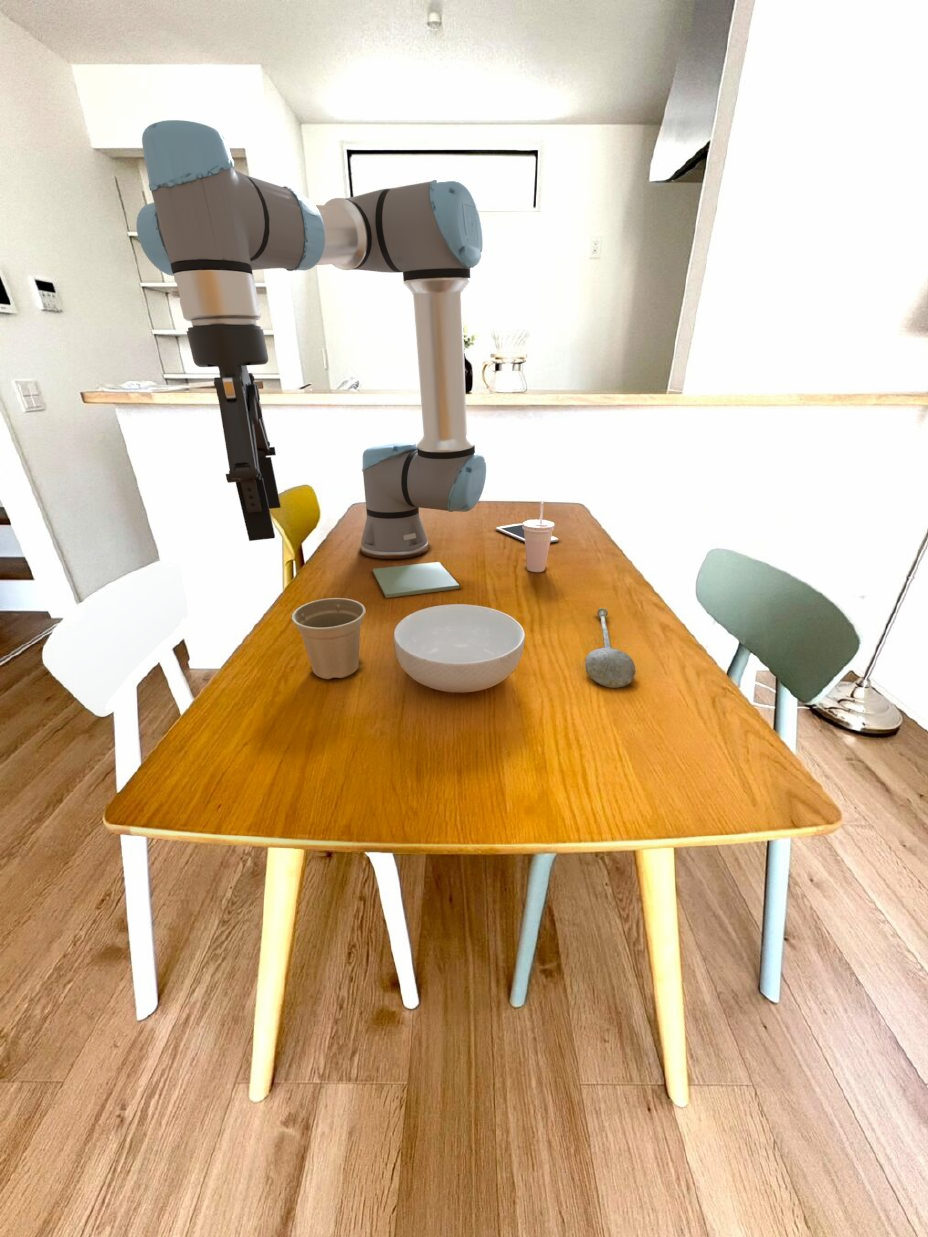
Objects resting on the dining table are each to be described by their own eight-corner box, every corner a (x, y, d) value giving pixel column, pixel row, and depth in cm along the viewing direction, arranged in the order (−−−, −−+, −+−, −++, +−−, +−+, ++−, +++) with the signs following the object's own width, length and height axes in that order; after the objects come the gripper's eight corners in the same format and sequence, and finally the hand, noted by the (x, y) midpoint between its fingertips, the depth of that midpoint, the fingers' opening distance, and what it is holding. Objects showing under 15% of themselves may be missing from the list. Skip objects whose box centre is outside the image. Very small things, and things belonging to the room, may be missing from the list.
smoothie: (537, 576, 104) (541, 507, 98) (513, 568, 109) (516, 501, 102) (557, 569, 108) (563, 502, 102) (534, 561, 112) (538, 496, 106)
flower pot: (354, 690, 67) (348, 631, 63) (287, 683, 69) (277, 624, 65) (379, 655, 75) (375, 600, 72) (319, 649, 77) (312, 595, 73)
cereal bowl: (420, 726, 60) (418, 674, 57) (381, 660, 74) (378, 615, 71) (546, 693, 67) (550, 645, 64) (489, 638, 80) (490, 596, 77)
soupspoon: (583, 689, 69) (634, 696, 68) (587, 667, 67) (639, 675, 66) (582, 614, 88) (622, 619, 87) (585, 596, 86) (626, 601, 85)
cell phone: (533, 546, 122) (533, 543, 122) (495, 529, 134) (495, 527, 134) (559, 541, 125) (559, 538, 125) (520, 525, 138) (520, 523, 138)
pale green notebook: (373, 572, 106) (372, 568, 106) (439, 565, 110) (438, 561, 110) (385, 598, 94) (385, 594, 94) (459, 589, 98) (459, 585, 98)
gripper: (206, 330, 64) (245, 500, 74) (154, 317, 43) (218, 559, 53) (269, 328, 66) (299, 495, 76) (250, 315, 44) (295, 550, 54)
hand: (266, 522), depth 64 cm, fingers open, 13 cm apart
